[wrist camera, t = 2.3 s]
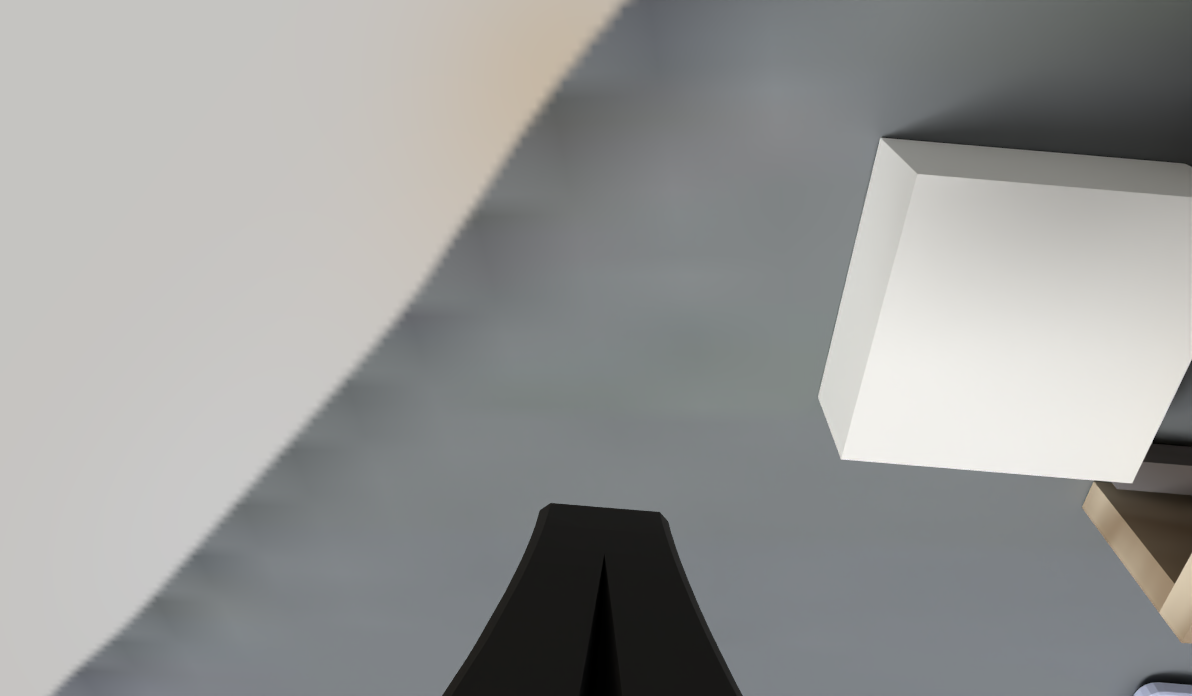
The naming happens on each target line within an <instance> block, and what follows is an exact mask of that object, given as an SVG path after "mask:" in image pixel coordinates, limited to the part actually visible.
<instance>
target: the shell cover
mask: <svg viewBox="0 0 1192 696" xmlns="http://www.w3.org/2000/svg"><path fill="white" fill-rule="evenodd" d="M1191 360H1192V167H1191V166H1189V165H1187V164H1184V163H1172V162H1160V161H1149V160H1137V159H1125V158H1114V157H1102V156H1090V155H1078V154H1067V153H1055V152H1043V151H1031V150H1020V149H1008V148H996V147H985V146H973V145H961V144H949V143H938V142H926V141H914V140H902V139H891V138H880V141H879V146H878V150H877V154H876V158H875V162H874V166H873V171H872V175H871V179H870V183H869V187H868V191H867V196H866V200H865V204H864V208H863V212H862V216H861V220H860V225H859V229H858V233H857V237H856V241H855V245H854V250H853V254H852V258H851V262H850V266H849V270H848V275H847V279H846V283H845V287H844V291H843V295H842V300H841V304H840V308H839V312H838V316H837V320H836V325H835V329H834V333H833V337H832V341H831V345H830V350H829V354H828V358H827V362H826V366H825V370H824V375H823V379H822V383H821V387H820V391H819V395H818V398H819V401H820V404H821V406H822V409H823V412H824V414H825V417H826V420H827V422H828V425H829V428H830V430H831V433H832V436H833V439H834V441H835V444H836V447H837V449H838V452H839V455H840V457H841V459H844V460H856V461H868V462H880V463H892V464H904V465H916V466H928V467H940V468H952V469H964V470H976V471H988V472H1000V473H1012V474H1024V475H1036V476H1049V477H1061V478H1073V479H1085V480H1097V481H1109V482H1121V483H1133V481H1134V479H1135V476H1136V474H1137V472H1138V470H1139V468H1140V466H1141V464H1142V462H1143V460H1144V458H1145V456H1146V454H1147V451H1148V449H1149V447H1150V445H1151V443H1152V441H1153V439H1154V437H1155V435H1156V433H1157V431H1158V429H1159V427H1160V424H1161V422H1162V420H1163V418H1164V416H1165V414H1166V412H1167V410H1168V408H1169V406H1170V404H1171V402H1172V400H1173V397H1174V395H1175V393H1176V391H1177V389H1178V387H1179V385H1180V383H1181V381H1182V379H1183V377H1184V375H1185V373H1186V370H1187V368H1188V366H1189V364H1190V362H1191Z"/></svg>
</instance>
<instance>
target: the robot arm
mask: <svg viewBox="0 0 1192 696" xmlns="http://www.w3.org/2000/svg"><path fill="white" fill-rule="evenodd" d="M442 696H742V694H741V692H740V690H739V688H738V686H737V684H736V682H735V681H734V678H733V676H732V674H731V672H730V670H729V668H728V666H727V664H726V662H725V660H724V658H723V656H722V654H721V652H720V650H719V648H718V646H717V644H716V642H715V640H714V638H713V636H712V634H711V632H710V630H709V627H708V625H707V623H706V621H705V619H704V616H703V614H702V612H701V610H700V608H699V605H698V603H697V601H696V598H695V596H694V593H693V591H692V589H691V586H690V584H689V581H688V579H687V576H686V574H685V571H684V569H683V566H682V564H681V561H680V558H679V555H678V552H677V550H676V547H675V544H674V540H673V537H672V534H671V531H670V527H669V523H668V521H667V520H666V519H665V518H664V516H663V515H662V514H661V513H660V512H652V511H639V510H627V509H615V508H603V507H591V506H579V505H567V504H555V503H550V504H549V505H547V506H546V507H544V508H543V509H541V510H540V512H539V515H538V519H537V522H536V526H535V528H534V531H533V534H532V536H531V539H530V541H529V544H528V546H527V548H526V551H525V553H524V555H523V557H522V560H521V562H520V564H519V566H518V568H517V570H516V572H515V574H514V576H513V578H512V580H511V582H510V584H509V586H508V588H507V590H506V592H505V594H504V595H503V597H502V599H501V601H500V602H499V604H498V606H497V608H496V609H495V611H494V613H493V615H492V616H491V618H490V620H489V622H488V623H487V625H486V627H485V629H484V630H483V632H482V634H481V636H480V637H479V639H478V641H477V643H476V644H475V646H474V648H473V649H472V651H471V653H470V654H469V656H468V657H467V659H466V660H465V662H464V664H463V665H462V667H461V668H460V670H459V671H458V673H457V674H456V676H455V677H454V679H453V680H452V682H451V683H450V685H449V686H448V688H447V689H446V691H445V692H444V694H443V695H442ZM1134 696H1192V685H1186V684H1173V683H1161V682H1154V683H1149V684H1145V685H1144V686H1142V687H1140V688H1139V689H1138V690H1137V691H1136V693H1135V694H1134Z"/></svg>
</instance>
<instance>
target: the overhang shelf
mask: <svg viewBox="0 0 1192 696" xmlns="http://www.w3.org/2000/svg"><path fill="white" fill-rule="evenodd" d="M1082 508H1083V509H1084V511H1085V512H1086V514H1087V515H1088V516H1089V518H1090V519H1091V520H1092V522H1093V523H1094V524H1095V526H1096V527H1097V529H1098V530H1099V531H1100V533H1101V534H1102V535H1103V537H1104V538H1105V539H1106V541H1107V542H1108V544H1109V545H1110V546H1111V548H1112V549H1113V550H1114V552H1115V553H1116V554H1117V556H1118V557H1119V559H1120V560H1121V561H1122V563H1123V564H1124V565H1125V567H1126V568H1127V569H1128V571H1129V572H1130V573H1131V575H1132V576H1133V578H1134V579H1135V580H1136V582H1137V583H1138V584H1139V586H1140V587H1141V588H1142V590H1143V591H1144V593H1145V594H1146V595H1147V597H1148V598H1149V599H1150V601H1151V602H1152V603H1153V605H1154V606H1155V608H1156V609H1157V610H1158V612H1159V613H1160V614H1161V616H1162V617H1163V618H1164V620H1165V621H1166V623H1167V624H1168V625H1169V627H1170V628H1171V629H1172V631H1173V632H1174V633H1175V635H1176V636H1177V638H1178V639H1179V640H1180V642H1181V643H1192V447H1186V446H1174V445H1162V444H1151V445H1150V447H1149V449H1148V451H1147V454H1146V456H1145V458H1144V460H1143V462H1142V464H1141V466H1140V468H1139V470H1138V472H1137V474H1136V476H1135V479H1134V481H1133V483H1121V482H1112V483H1107V482H1095V481H1094V482H1093V484H1092V487H1091V489H1090V491H1089V493H1088V495H1087V498H1086V500H1085V502H1084V504H1083V506H1082Z"/></svg>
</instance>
